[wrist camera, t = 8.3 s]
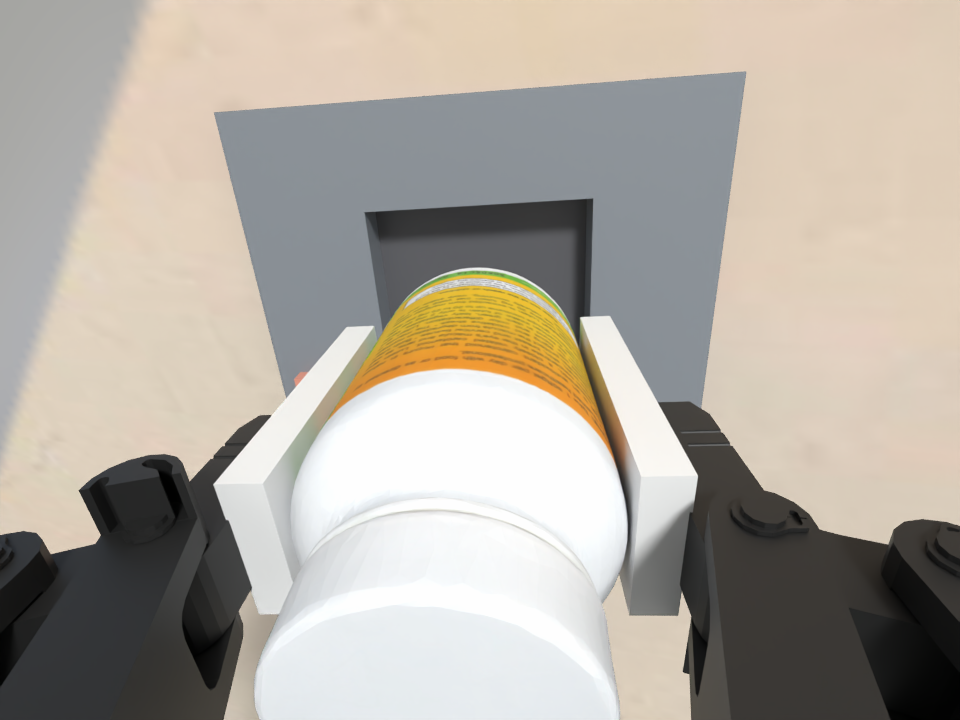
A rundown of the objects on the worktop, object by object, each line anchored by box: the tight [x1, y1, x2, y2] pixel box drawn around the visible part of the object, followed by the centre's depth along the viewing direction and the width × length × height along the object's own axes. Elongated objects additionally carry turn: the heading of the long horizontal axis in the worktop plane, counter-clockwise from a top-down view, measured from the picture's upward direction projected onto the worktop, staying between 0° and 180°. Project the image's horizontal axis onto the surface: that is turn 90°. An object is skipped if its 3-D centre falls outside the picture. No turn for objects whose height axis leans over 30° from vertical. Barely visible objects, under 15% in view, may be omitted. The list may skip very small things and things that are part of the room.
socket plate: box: [214, 72, 746, 408], centre depth 18 cm, size 16×14×2 cm
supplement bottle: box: [254, 268, 628, 720], centre depth 10 cm, size 5×5×10 cm
